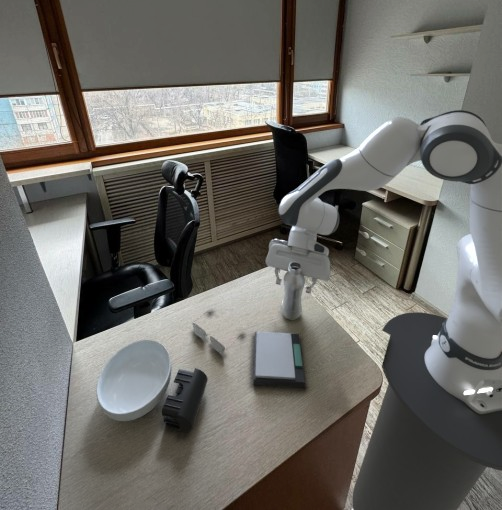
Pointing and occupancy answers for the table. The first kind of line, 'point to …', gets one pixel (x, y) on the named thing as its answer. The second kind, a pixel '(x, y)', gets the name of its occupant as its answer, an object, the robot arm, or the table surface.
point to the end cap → (185, 400)
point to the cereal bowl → (134, 380)
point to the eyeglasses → (214, 342)
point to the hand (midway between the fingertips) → (292, 288)
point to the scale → (278, 360)
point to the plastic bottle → (293, 291)
